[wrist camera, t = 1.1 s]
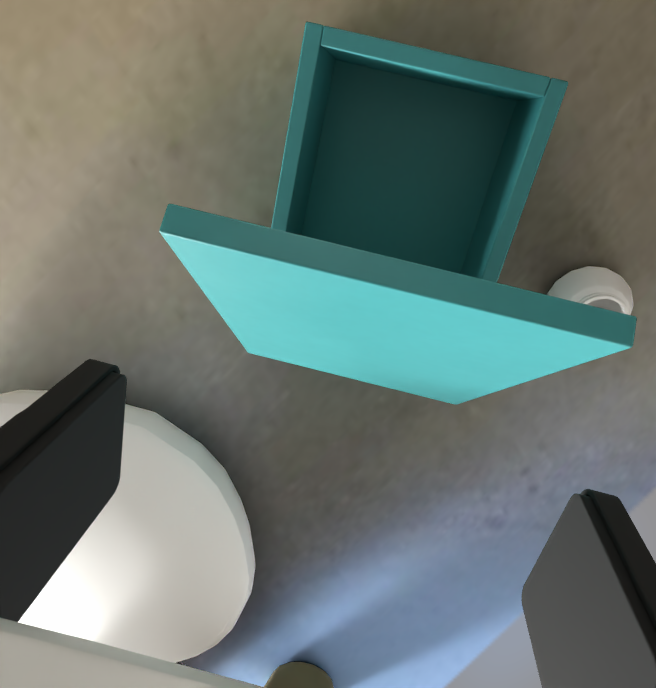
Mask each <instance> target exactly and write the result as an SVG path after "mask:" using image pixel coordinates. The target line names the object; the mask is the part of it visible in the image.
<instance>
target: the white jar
mask: <svg viewBox="0 0 656 688" xmlns="http://www.w3.org/2000/svg"><path fill="white" fill-rule="evenodd" d="M547 295H549V296H553V297H558V298H562V299H566V300H570V301H574V302H578V303H582V304H586V305H591V306H595V307H599V308H603V309H607V310H611V311H615V312H619V313H623V314H628V315H631V312H632V308H633V298H632V291H631V288H630V287H629V286H628V284H627V283H626V281H625V280H624V279H623V277H622V276H620V275H618V274H616V273H615V272H613V271H611V270H609V269H607V268H603V267H592V266H587V267H584V268H580V269H576V270H573V271H570V272H569V273H567V274H566V275H564V276H563V277H561V278H560V279H558V280H557V281H556V282H555V283H554V285H553V286H552V288H551V289H550V290H549V292H548V293H547Z"/></svg>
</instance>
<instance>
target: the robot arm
mask: <svg viewBox="0 0 656 688" xmlns="http://www.w3.org/2000/svg"><path fill="white" fill-rule="evenodd" d="M126 385H127V379H126V376H125V375H122V374H120V370H119V368H118V367H117V366H116V365H112V364H108V363H104V362H100V361H96V360H93V359H89V360H87V361H85V362H84V363H83V364H81V365H80V366H79V367H78V368H76V369H75V370H74V371H73V372H71V373H70V374H69V375H68V376H66V377H65V378H64V379H62V380H61V381H60V382H59V383H57V384H56V385H55V386H54V387H52V388H51V389H50V390H49V391H47V392H46V393H45V394H44V395H42V396H41V397H40V398H39V399H37V400H36V401H35V402H34V403H32V404H31V405H30V406H29V407H27V408H26V409H25V410H23V411H21V412H20V413H18V414H16V415H15V416H14V417H13V418H11V419H10V420H9V421H8V422H6V423H5V424H4V425H3V426H1V427H0V688H265V687H261V686H257V685H254V684H250V683H246V682H243V681H239V680H235V679H232V678H228V677H224V676H221V675H217V674H213V673H210V672H206V671H202V670H198V669H195V668H191V667H187V666H184V665H180V664H176V663H172V662H169V661H165V660H161V659H158V658H154V657H150V656H146V655H143V654H139V653H135V652H132V651H128V650H124V649H120V648H117V647H113V646H109V645H105V644H102V643H98V642H94V641H91V640H87V639H83V638H79V637H75V636H71V635H67V634H63V633H59V632H55V631H51V630H47V629H43V628H39V627H35V626H31V625H27V624H23V623H19V620H20V619H21V618H22V616H23V615H24V614H25V612H26V611H27V610H28V608H29V607H30V606H31V604H32V603H33V602H34V600H35V599H36V598H37V596H38V595H39V594H40V592H41V591H42V590H43V588H44V587H45V586H46V584H47V583H48V582H49V580H50V579H51V578H52V576H53V575H54V574H55V572H56V571H57V569H58V568H59V567H60V565H61V564H62V563H63V561H64V560H65V559H66V557H67V556H68V555H69V553H70V552H71V551H72V549H73V548H74V547H75V545H76V544H77V543H78V541H79V540H80V539H81V537H82V536H83V535H84V533H85V532H86V531H87V529H88V528H89V527H90V525H91V524H92V523H93V521H94V520H95V519H96V517H97V516H98V515H99V513H100V512H101V511H102V509H103V508H104V507H105V505H106V504H107V503H108V501H109V500H110V499H111V497H112V496H113V495H114V493H115V491H116V489H117V487H118V484H119V481H120V473H121V458H122V443H123V429H124V414H125V399H126ZM522 606H523V610H524V614H525V618H526V622H527V627H528V631H529V635H530V639H531V643H532V648H533V652H534V656H535V660H536V664H537V668H538V672H539V677H540V681H541V685H542V688H656V563H655V561H654V560H653V558H652V556H651V554H650V552H649V551H648V549H647V547H646V545H645V543H644V542H643V540H642V538H641V536H640V535H639V533H638V531H637V529H636V527H635V526H634V524H633V522H632V520H631V518H630V517H629V515H628V513H627V511H626V509H625V508H624V506H623V504H622V502H621V501H620V499H619V498H618V497H616V496H613V495H609V494H605V493H602V492H598V491H594V490H590V489H586V490H584V491H583V492H581V494H574V495H573V496H572V497H571V498H570V500H569V502H568V504H567V506H566V507H565V509H564V511H563V513H562V515H561V517H560V519H559V520H558V522H557V524H556V526H555V528H554V530H553V532H552V534H551V535H550V537H549V539H548V541H547V543H546V545H545V547H544V549H543V550H542V552H541V554H540V556H539V558H538V560H537V562H536V564H535V565H534V567H533V569H532V571H531V573H530V575H529V577H528V579H527V580H526V582H525V584H524V587H523V590H522Z"/></svg>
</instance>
